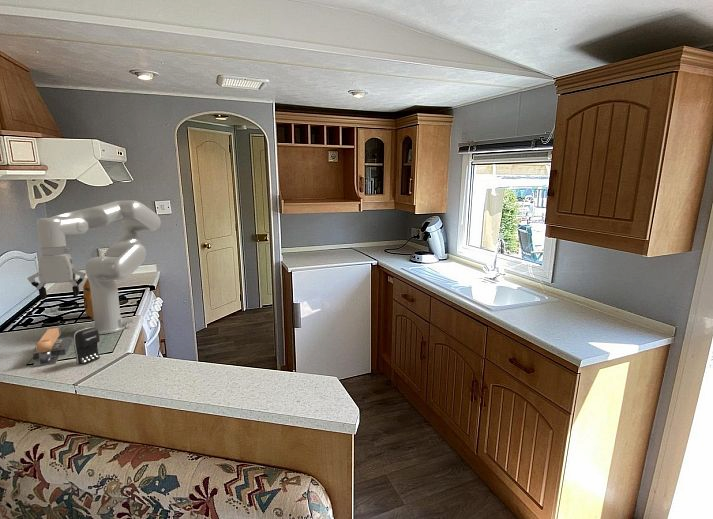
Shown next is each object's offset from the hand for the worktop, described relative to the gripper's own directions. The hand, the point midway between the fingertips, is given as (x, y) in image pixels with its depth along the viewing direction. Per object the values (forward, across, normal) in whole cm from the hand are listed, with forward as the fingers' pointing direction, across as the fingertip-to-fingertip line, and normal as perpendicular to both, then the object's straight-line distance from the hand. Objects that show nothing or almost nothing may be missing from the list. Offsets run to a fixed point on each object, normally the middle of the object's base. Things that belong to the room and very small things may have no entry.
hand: (60, 297), depth 141 cm
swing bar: (+15, +3, +7) cm, 17 cm away
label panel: (+19, +3, +2) cm, 20 cm away
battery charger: (+19, -12, +20) cm, 30 cm away
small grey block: (+19, +2, +15) cm, 24 cm away
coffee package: (+20, -2, -44) cm, 48 cm away
